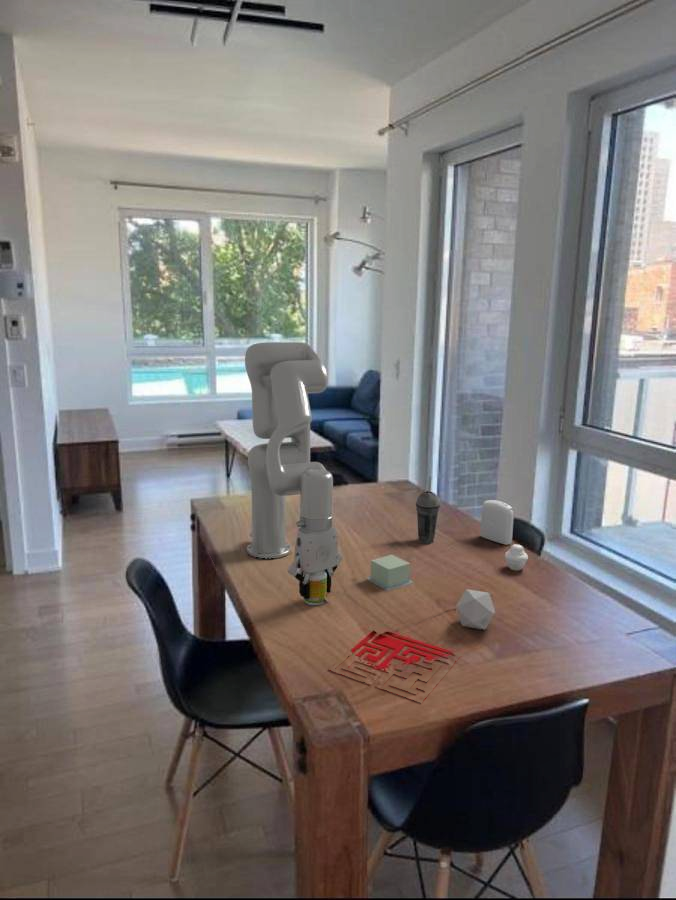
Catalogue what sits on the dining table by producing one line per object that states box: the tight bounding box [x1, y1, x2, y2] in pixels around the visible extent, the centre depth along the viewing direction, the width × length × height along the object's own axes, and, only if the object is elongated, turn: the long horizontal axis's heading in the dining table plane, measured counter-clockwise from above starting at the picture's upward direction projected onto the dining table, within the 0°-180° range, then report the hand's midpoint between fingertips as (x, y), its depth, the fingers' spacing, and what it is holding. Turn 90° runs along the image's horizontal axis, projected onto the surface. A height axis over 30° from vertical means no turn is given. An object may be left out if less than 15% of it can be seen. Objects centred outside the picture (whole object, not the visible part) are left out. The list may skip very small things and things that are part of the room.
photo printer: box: [480, 499, 515, 546], centre depth 200 cm, size 10×4×12 cm, turn 39°
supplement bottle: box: [303, 570, 328, 606], centre depth 157 cm, size 5×5×10 cm
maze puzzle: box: [350, 630, 455, 673], centre depth 132 cm, size 20×20×1 cm
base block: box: [370, 554, 411, 588], centre depth 167 cm, size 7×7×5 cm
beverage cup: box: [415, 476, 441, 545], centre depth 197 cm, size 7×7×20 cm
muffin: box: [504, 543, 529, 571], centre depth 179 cm, size 6×6×7 cm
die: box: [455, 589, 496, 631], centre depth 147 cm, size 8×9×10 cm
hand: (315, 593), depth 157 cm, fingers closed on supplement bottle, 5 cm apart
